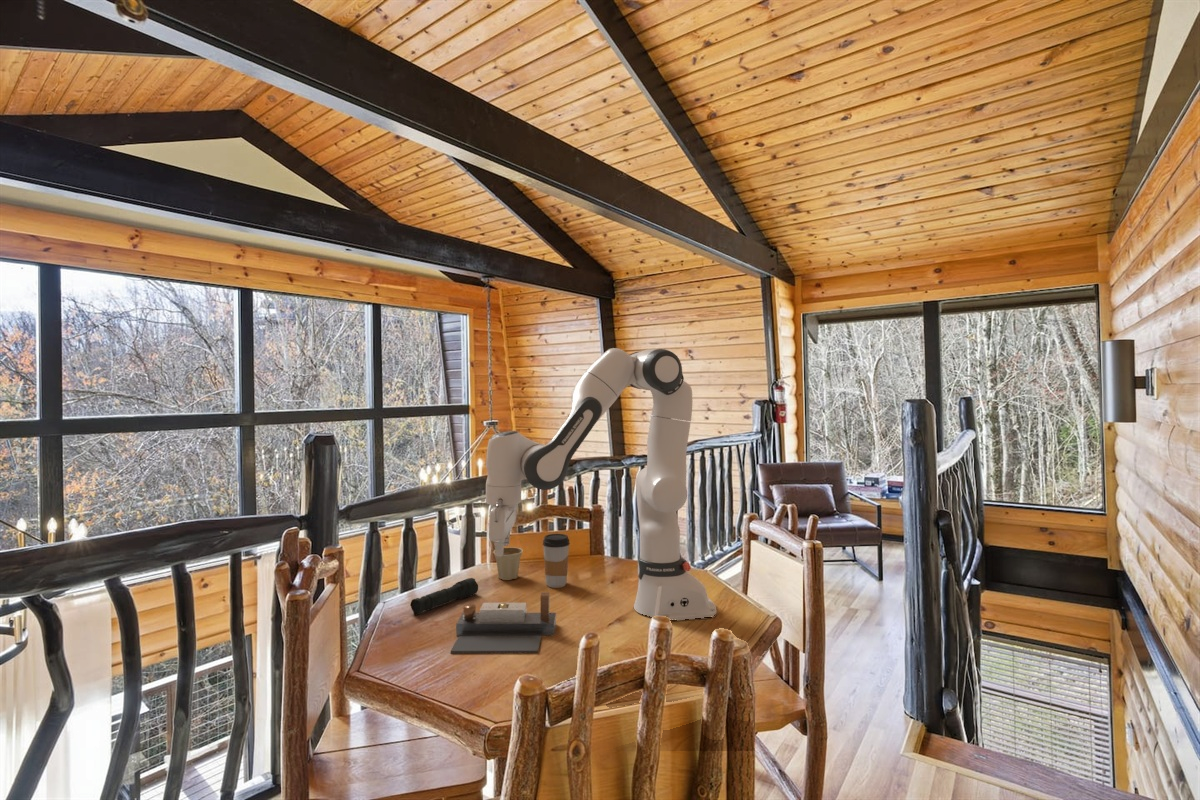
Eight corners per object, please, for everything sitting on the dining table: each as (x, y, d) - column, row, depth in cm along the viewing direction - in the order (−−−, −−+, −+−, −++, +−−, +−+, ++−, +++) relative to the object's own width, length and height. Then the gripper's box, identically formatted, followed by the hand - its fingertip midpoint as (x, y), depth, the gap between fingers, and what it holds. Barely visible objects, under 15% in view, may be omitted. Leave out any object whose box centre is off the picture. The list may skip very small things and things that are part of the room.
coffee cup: (565, 590, 174) (565, 540, 174) (539, 588, 176) (539, 539, 176) (572, 581, 183) (572, 534, 182) (547, 579, 184) (547, 532, 184)
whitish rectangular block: (526, 614, 148) (526, 602, 148) (523, 622, 143) (523, 609, 143) (483, 614, 148) (483, 602, 148) (479, 622, 143) (479, 610, 143)
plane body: (555, 624, 149) (555, 589, 149) (553, 635, 142) (553, 599, 142) (462, 624, 149) (462, 589, 149) (456, 635, 142) (456, 599, 142)
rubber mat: (541, 638, 140) (541, 635, 140) (537, 653, 132) (537, 650, 132) (458, 638, 140) (458, 636, 140) (450, 653, 132) (450, 650, 132)
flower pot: (491, 574, 189) (491, 548, 189) (520, 571, 192) (520, 546, 192) (495, 583, 180) (495, 556, 180) (525, 580, 183) (525, 553, 183)
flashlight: (478, 595, 170) (478, 578, 170) (421, 618, 153) (420, 599, 153) (467, 592, 173) (467, 575, 173) (409, 614, 156) (409, 596, 156)
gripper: (509, 503, 135) (508, 562, 135) (521, 489, 155) (520, 540, 155) (482, 503, 135) (481, 562, 135) (497, 488, 155) (497, 539, 155)
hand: (502, 550), depth 145 cm, fingers open, 8 cm apart
